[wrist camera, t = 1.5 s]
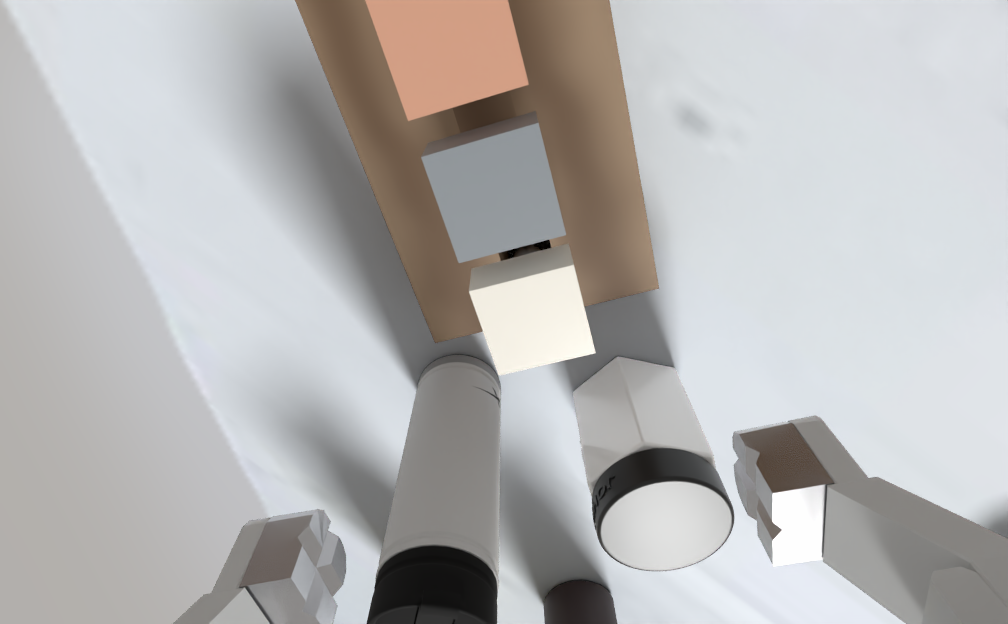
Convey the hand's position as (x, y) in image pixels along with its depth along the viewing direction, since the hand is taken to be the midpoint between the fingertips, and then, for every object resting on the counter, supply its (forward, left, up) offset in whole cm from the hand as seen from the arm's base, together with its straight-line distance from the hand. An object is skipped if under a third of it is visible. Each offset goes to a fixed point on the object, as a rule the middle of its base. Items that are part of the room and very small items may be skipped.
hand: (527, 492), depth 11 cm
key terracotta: (+1, -7, -23) cm, 24 cm away
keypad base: (+1, -1, -27) cm, 27 cm away
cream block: (+1, +5, -23) cm, 24 cm away
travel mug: (+9, +16, -28) cm, 33 cm away
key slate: (+1, -1, -23) cm, 23 cm away
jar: (-3, +21, -28) cm, 35 cm away
